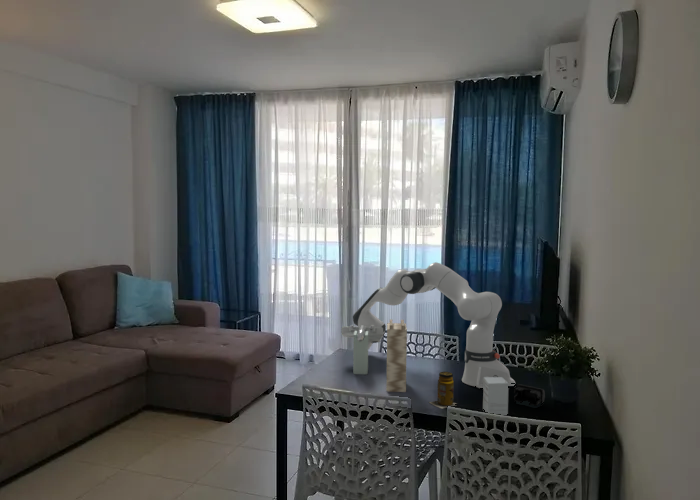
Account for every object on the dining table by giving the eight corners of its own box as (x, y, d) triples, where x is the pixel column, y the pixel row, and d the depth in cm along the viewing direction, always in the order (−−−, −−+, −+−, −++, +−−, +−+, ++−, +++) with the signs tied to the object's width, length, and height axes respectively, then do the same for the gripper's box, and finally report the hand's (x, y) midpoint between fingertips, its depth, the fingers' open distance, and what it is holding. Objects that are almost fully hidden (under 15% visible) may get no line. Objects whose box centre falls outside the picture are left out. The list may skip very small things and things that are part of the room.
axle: (359, 330, 252) (360, 324, 252) (365, 331, 252) (366, 325, 252) (356, 340, 232) (357, 334, 232) (363, 341, 232) (364, 335, 232)
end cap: (544, 404, 203) (545, 387, 202) (538, 409, 197) (539, 392, 197) (519, 398, 209) (519, 382, 208) (512, 403, 203) (513, 386, 203)
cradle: (368, 369, 247) (368, 331, 245) (367, 374, 239) (367, 335, 237) (354, 368, 247) (354, 330, 246) (353, 374, 239) (353, 334, 238)
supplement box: (501, 409, 197) (502, 376, 196) (508, 417, 190) (509, 383, 189) (482, 409, 197) (483, 376, 196) (487, 417, 189) (488, 383, 189)
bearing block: (405, 382, 227) (405, 319, 225) (405, 392, 215) (406, 325, 213) (386, 382, 228) (387, 319, 226) (386, 391, 216) (387, 325, 214)
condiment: (458, 404, 202) (458, 374, 201) (441, 409, 197) (442, 377, 196) (444, 399, 208) (445, 369, 207) (428, 403, 203) (429, 372, 202)
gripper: (342, 329, 262) (340, 320, 250) (383, 329, 261) (383, 321, 248) (341, 341, 259) (339, 333, 247) (383, 342, 258) (383, 334, 245)
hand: (361, 327), depth 248 cm, fingers open, 8 cm apart
